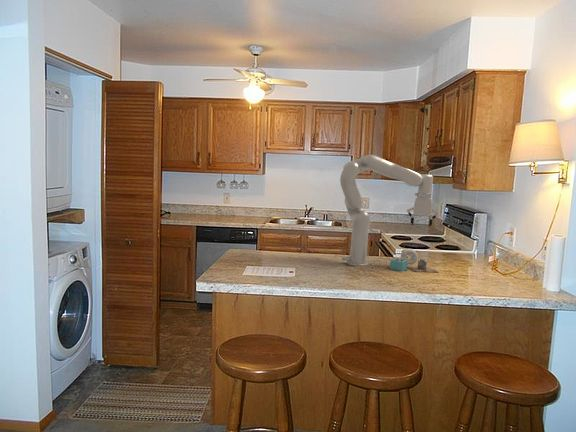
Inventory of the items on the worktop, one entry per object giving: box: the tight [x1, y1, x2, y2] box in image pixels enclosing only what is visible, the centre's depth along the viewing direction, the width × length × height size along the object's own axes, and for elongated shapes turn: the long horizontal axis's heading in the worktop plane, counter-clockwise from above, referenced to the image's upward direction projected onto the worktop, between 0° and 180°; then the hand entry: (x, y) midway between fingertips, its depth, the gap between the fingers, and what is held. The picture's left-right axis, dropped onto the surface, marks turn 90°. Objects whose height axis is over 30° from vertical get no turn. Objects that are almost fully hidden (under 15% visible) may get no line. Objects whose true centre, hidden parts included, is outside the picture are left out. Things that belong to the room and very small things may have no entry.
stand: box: [388, 260, 408, 272], centre depth 244 cm, size 10×10×6 cm
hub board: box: [407, 258, 439, 274], centre depth 247 cm, size 14×12×7 cm
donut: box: [400, 248, 419, 265], centre depth 263 cm, size 10×4×10 cm, turn 89°
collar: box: [389, 258, 408, 272], centre depth 244 cm, size 7×7×5 cm
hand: (421, 225), depth 253 cm, fingers open, 9 cm apart
